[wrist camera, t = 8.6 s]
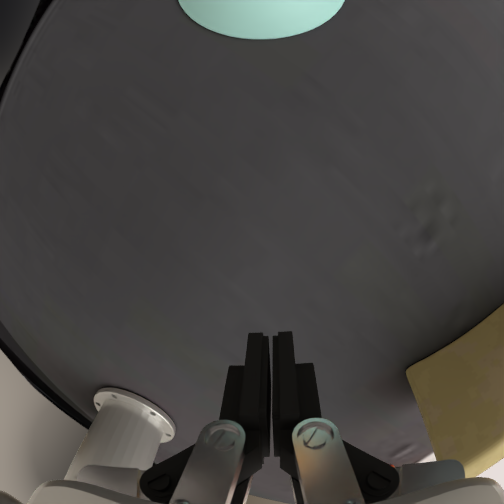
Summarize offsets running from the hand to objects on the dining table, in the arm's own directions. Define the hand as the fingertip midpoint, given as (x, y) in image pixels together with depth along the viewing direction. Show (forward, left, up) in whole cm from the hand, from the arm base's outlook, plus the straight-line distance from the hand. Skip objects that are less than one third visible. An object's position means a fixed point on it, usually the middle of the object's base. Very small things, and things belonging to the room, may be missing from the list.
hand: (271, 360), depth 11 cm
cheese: (+14, -23, -12) cm, 29 cm away
